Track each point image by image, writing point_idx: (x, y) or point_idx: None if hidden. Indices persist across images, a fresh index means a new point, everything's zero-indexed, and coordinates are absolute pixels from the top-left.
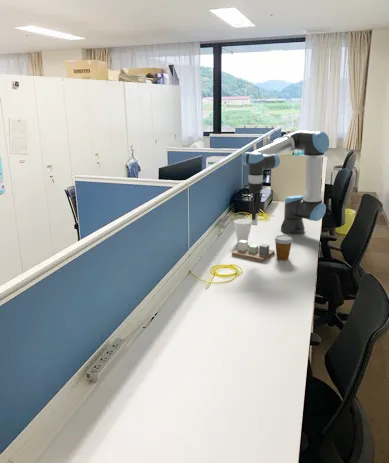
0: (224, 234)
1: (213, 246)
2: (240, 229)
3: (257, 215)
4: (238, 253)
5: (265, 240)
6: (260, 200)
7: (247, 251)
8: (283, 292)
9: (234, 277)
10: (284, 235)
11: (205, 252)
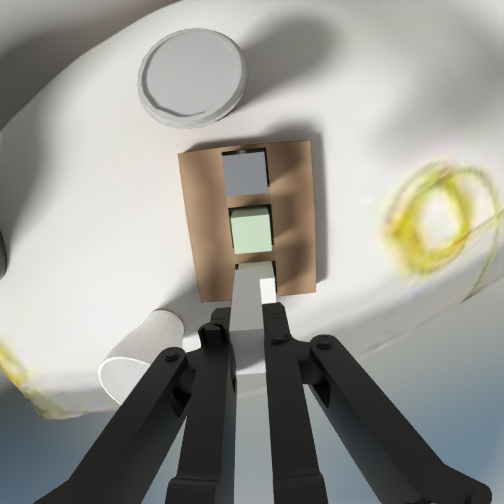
0: None
1: None
2: None
3: (233, 316)
4: (313, 264)
5: (86, 269)
6: (107, 454)
7: None
8: (447, 20)
9: (460, 172)
10: (143, 93)
11: None
